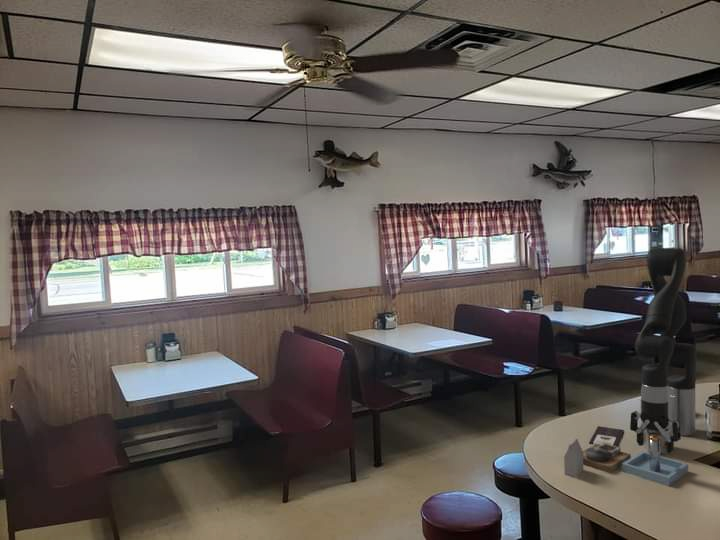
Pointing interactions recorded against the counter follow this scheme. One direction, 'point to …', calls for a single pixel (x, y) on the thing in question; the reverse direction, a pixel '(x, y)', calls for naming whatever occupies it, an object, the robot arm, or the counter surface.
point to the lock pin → (655, 452)
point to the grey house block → (573, 459)
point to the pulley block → (604, 457)
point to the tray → (641, 468)
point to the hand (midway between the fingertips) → (654, 448)
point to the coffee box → (647, 441)
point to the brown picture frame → (606, 436)
